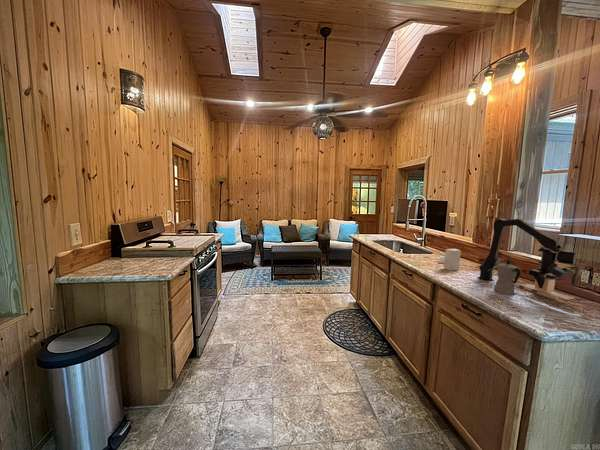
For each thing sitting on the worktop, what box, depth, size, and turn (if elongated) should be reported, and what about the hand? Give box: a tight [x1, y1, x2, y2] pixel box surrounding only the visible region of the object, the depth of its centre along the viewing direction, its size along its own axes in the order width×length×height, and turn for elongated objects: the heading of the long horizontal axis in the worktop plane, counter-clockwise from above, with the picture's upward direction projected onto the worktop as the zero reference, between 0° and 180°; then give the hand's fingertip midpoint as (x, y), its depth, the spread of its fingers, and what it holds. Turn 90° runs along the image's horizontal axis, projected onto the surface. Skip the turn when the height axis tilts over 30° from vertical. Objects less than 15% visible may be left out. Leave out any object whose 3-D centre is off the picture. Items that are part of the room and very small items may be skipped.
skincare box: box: [443, 248, 462, 271], centre depth 192 cm, size 8×6×15 cm
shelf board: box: [514, 282, 574, 301], centre depth 149 cm, size 14×22×3 cm, turn 14°
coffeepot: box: [493, 260, 521, 296], centre depth 147 cm, size 15×9×18 cm, turn 179°
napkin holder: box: [438, 255, 445, 264], centre depth 211 cm, size 15×11×6 cm
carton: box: [534, 278, 556, 293], centre depth 148 cm, size 4×6×7 cm
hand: (543, 287), depth 148 cm, fingers closed on carton, 4 cm apart
